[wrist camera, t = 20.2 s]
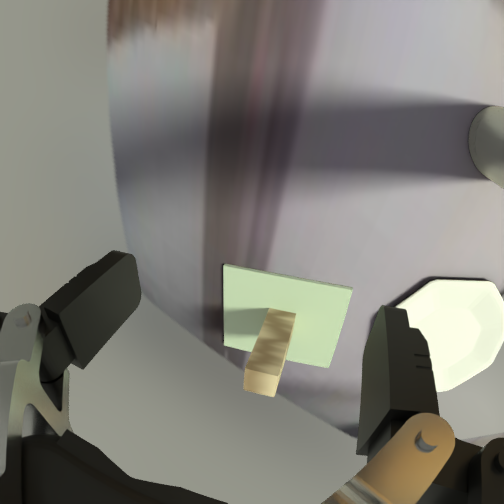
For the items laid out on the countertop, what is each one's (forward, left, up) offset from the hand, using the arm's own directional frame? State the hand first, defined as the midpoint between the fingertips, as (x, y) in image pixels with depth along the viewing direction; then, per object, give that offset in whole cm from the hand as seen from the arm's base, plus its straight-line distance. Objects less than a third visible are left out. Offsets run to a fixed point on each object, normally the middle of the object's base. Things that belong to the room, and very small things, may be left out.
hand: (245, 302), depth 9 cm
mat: (+2, +25, -28) cm, 38 cm away
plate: (-24, +24, -29) cm, 44 cm away
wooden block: (+2, +25, -28) cm, 37 cm away
